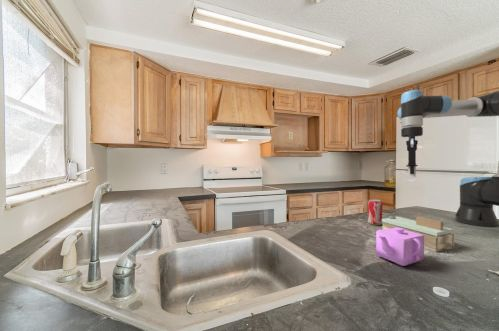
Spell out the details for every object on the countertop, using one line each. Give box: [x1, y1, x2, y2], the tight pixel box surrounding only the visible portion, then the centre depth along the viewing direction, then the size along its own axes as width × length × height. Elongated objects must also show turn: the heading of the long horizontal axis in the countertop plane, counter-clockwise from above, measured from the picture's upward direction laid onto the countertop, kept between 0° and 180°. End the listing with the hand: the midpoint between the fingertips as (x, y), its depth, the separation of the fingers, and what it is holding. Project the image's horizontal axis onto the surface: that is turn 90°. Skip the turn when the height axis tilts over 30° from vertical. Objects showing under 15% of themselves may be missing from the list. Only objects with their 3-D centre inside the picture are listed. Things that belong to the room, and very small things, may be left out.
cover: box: [382, 215, 454, 236], centre depth 87 cm, size 20×10×4 cm, turn 23°
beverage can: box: [367, 198, 383, 226], centre depth 109 cm, size 6×6×12 cm
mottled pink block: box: [375, 228, 425, 267], centre depth 70 cm, size 18×14×10 cm
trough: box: [381, 222, 455, 253], centre depth 86 cm, size 10×20×5 cm, turn 20°
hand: (412, 181), depth 95 cm, fingers closed
